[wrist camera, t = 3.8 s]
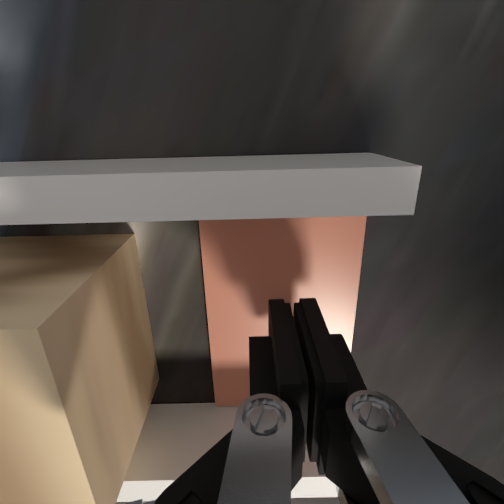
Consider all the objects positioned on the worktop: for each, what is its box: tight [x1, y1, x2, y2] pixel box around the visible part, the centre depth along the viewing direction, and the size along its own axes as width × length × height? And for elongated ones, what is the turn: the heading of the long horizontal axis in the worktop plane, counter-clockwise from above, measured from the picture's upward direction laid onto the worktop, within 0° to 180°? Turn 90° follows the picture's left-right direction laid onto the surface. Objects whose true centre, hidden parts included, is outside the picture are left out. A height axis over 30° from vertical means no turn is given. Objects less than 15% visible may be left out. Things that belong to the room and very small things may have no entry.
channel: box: [0, 153, 422, 502], centre depth 12 cm, size 18×12×4 cm
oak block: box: [0, 234, 160, 504], centre depth 11 cm, size 5×7×6 cm
